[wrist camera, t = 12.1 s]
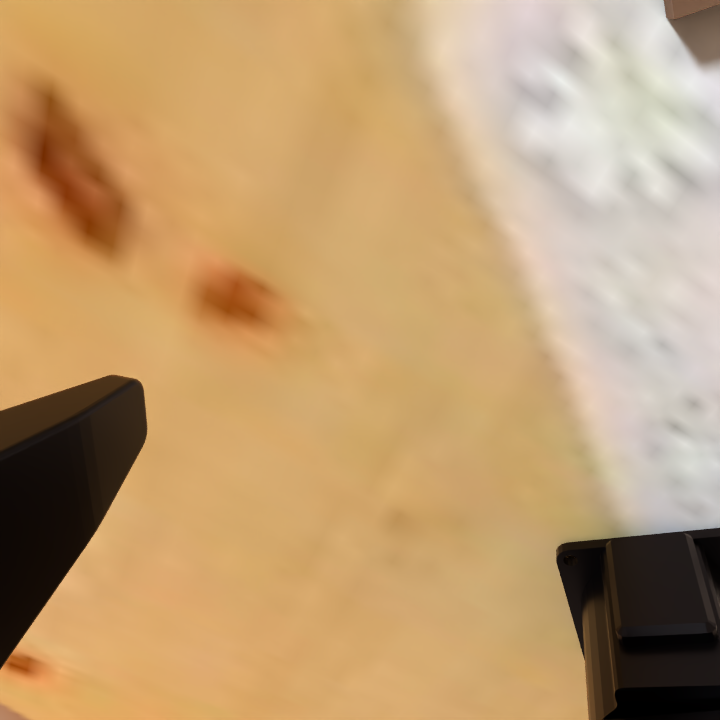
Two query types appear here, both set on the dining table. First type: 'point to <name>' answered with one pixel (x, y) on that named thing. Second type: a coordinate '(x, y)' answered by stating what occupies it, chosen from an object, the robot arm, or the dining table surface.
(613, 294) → the dining table surface
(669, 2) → the board
